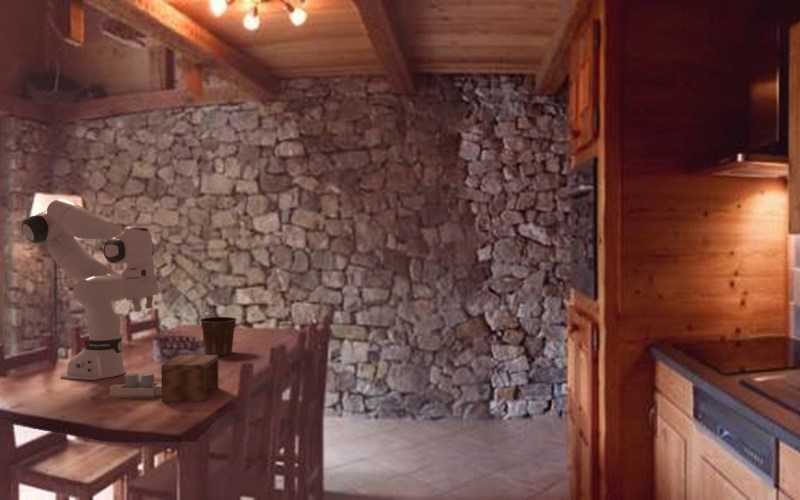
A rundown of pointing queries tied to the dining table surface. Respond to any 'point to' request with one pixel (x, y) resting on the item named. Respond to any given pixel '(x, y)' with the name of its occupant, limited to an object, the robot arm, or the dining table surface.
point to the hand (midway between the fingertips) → (143, 309)
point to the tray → (136, 391)
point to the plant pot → (218, 335)
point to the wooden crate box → (189, 377)
